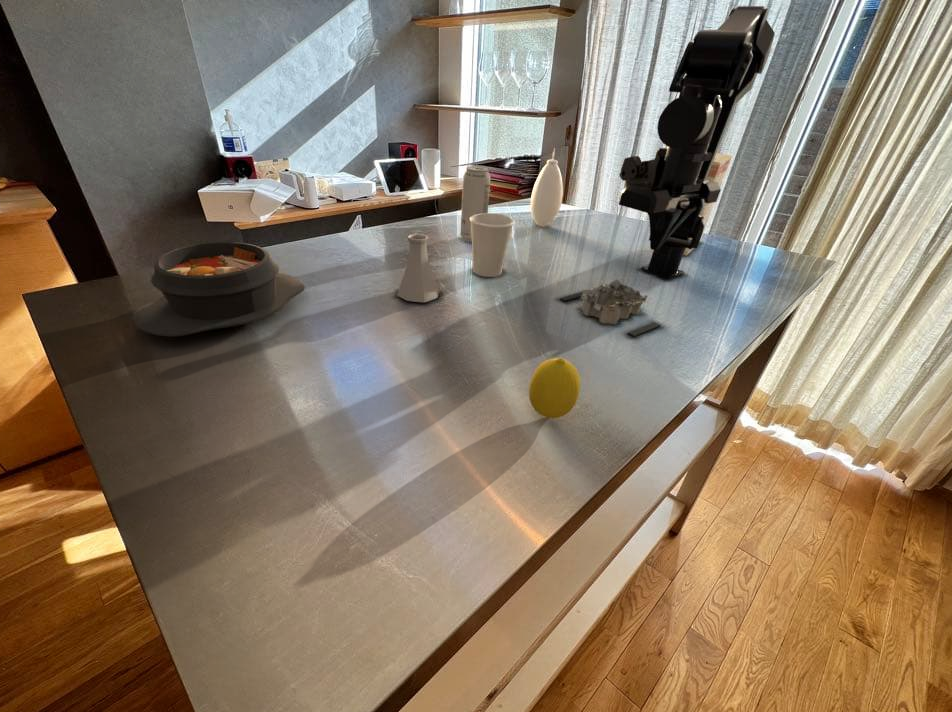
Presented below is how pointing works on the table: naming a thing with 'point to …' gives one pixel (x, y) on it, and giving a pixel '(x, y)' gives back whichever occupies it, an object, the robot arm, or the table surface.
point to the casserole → (214, 289)
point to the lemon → (554, 388)
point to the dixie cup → (490, 242)
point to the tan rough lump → (612, 302)
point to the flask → (418, 273)
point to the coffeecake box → (714, 175)
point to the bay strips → (632, 333)
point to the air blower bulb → (547, 194)
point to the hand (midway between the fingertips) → (654, 249)
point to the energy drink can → (474, 197)
